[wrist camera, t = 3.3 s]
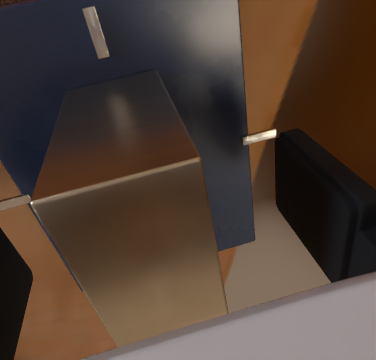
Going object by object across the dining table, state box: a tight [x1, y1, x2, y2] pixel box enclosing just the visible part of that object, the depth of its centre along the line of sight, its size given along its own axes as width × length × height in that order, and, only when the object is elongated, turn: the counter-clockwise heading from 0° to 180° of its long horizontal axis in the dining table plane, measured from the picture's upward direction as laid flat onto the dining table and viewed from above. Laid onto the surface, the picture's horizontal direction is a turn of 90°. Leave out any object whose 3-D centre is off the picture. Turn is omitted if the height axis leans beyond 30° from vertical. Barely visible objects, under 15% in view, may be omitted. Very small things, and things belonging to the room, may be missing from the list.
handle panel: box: [0, 0, 276, 291], centre depth 13 cm, size 12×11×3 cm
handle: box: [30, 70, 229, 347], centre depth 10 cm, size 7×3×6 cm, turn 10°
